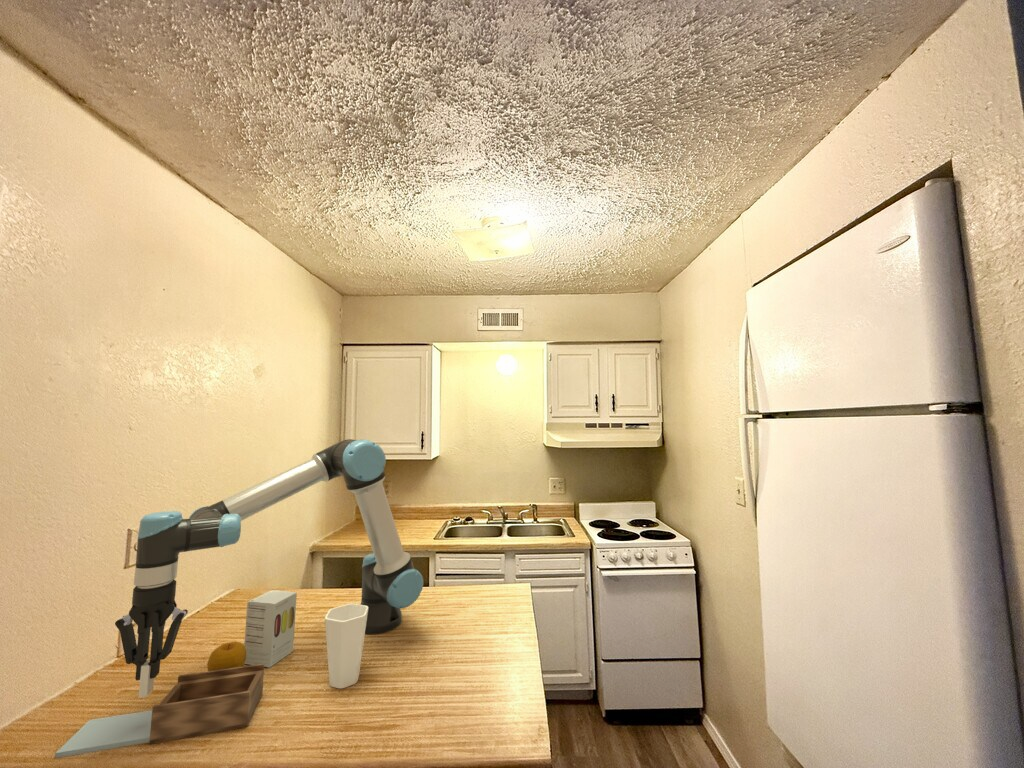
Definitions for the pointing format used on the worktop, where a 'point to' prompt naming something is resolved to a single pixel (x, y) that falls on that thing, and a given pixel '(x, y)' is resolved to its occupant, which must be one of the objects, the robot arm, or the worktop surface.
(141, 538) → the robot arm
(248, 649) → the supplement box
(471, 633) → the worktop surface
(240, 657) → the apple
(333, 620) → the cup
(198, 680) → the box
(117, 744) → the cover plate
